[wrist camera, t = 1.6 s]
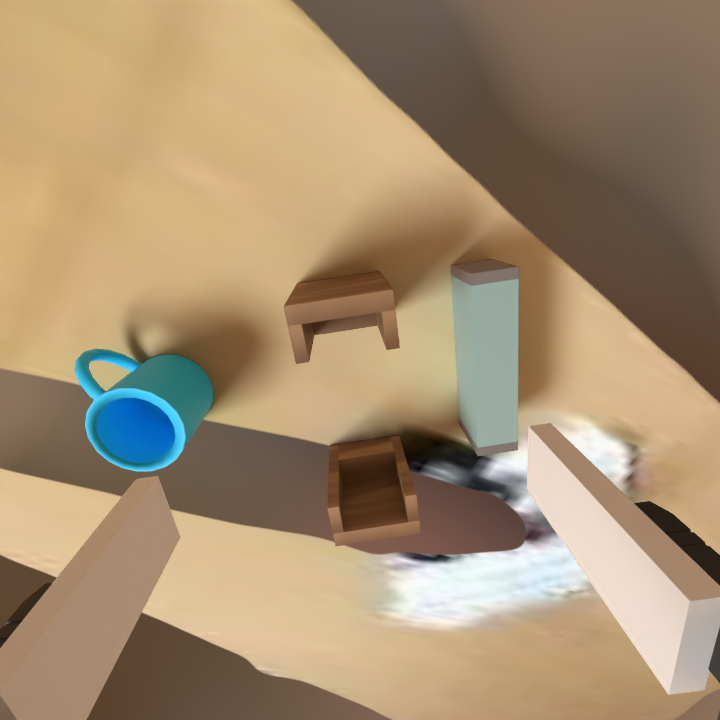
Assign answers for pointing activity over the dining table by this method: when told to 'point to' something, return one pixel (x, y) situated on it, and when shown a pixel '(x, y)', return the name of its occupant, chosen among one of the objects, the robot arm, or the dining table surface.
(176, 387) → the mug
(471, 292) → the rail
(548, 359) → the dining table surface
